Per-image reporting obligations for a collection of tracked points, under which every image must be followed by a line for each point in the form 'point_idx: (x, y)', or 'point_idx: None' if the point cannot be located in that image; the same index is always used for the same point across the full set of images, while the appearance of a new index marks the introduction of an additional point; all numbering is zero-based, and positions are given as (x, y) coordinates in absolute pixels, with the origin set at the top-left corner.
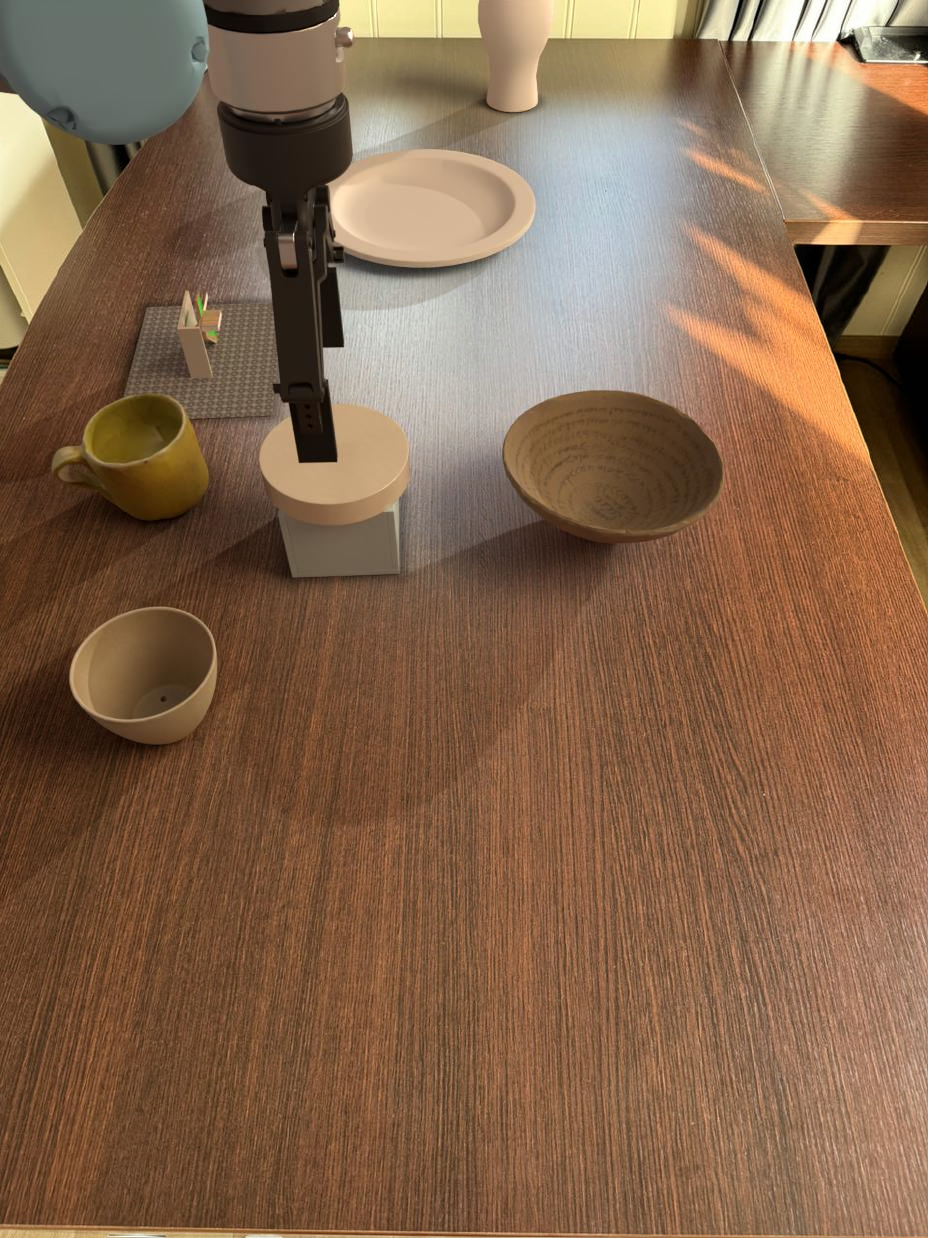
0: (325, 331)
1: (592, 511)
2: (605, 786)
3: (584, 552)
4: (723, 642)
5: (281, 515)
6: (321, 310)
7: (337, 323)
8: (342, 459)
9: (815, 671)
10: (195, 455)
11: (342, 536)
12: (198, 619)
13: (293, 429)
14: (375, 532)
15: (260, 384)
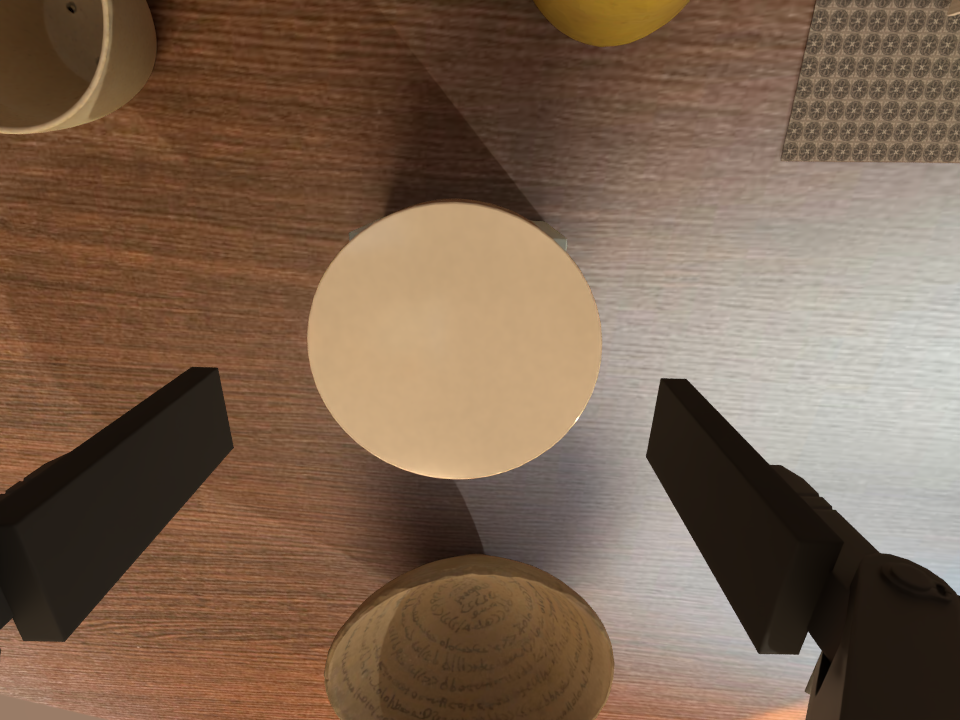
0: (670, 447)
1: (474, 586)
2: None
3: (422, 563)
4: (301, 652)
5: (349, 239)
6: (701, 485)
7: (673, 493)
8: (429, 372)
9: (273, 704)
10: (605, 17)
11: None
12: (90, 90)
13: (120, 418)
14: None
15: (883, 130)
